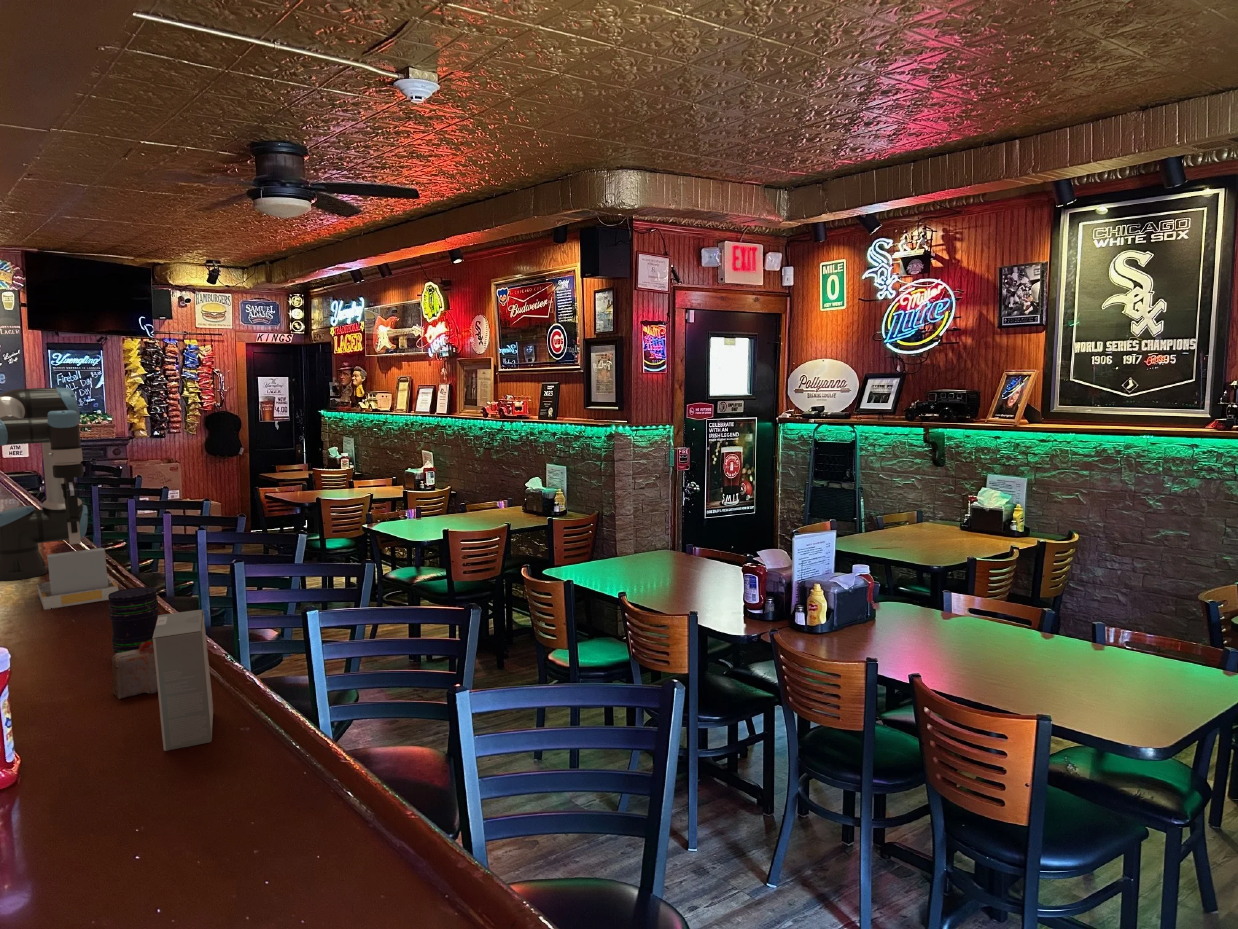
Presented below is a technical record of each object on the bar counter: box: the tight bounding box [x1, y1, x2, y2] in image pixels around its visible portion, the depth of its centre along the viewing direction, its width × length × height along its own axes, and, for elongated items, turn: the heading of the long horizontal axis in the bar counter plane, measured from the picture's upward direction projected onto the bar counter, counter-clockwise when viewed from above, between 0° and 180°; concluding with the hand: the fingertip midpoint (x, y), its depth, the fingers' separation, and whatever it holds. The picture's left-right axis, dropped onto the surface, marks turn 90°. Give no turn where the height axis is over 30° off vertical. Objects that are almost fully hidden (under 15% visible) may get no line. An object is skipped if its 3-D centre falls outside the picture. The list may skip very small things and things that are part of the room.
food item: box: [110, 641, 158, 700], centre depth 174 cm, size 14×8×10 cm, turn 129°
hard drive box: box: [152, 609, 214, 752], centre depth 150 cm, size 16×8×20 cm, turn 25°
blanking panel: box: [46, 547, 108, 596], centre depth 252 cm, size 5×14×14 cm, turn 127°
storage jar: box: [108, 586, 160, 656], centre depth 196 cm, size 10×10×15 cm
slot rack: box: [37, 573, 119, 610], centre depth 258 cm, size 24×19×4 cm
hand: (75, 543), depth 251 cm, fingers closed
